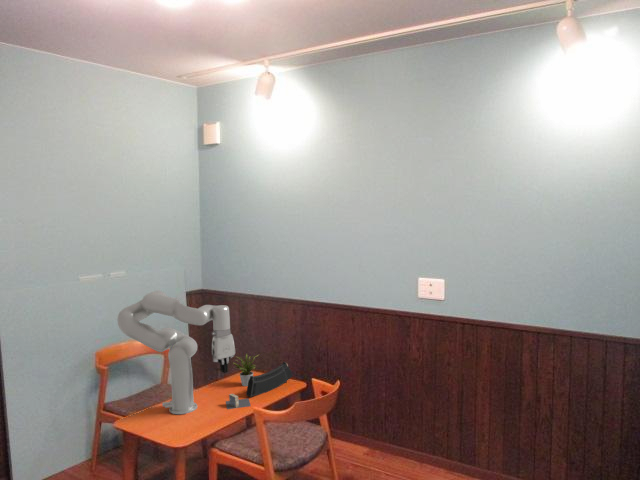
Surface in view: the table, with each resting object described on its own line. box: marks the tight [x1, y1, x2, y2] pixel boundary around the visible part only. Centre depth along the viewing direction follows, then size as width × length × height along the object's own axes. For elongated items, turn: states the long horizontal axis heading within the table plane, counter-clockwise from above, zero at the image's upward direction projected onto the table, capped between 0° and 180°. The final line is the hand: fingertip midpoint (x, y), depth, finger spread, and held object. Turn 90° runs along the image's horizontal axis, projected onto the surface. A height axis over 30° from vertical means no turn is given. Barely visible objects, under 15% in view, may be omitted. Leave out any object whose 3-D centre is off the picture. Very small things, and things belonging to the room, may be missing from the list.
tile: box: [228, 393, 239, 407], centre depth 230 cm, size 2×5×5 cm, turn 45°
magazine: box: [245, 361, 293, 398], centre depth 250 cm, size 17×3×30 cm
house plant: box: [232, 353, 259, 387], centre depth 259 cm, size 14×14×16 cm
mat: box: [225, 397, 252, 410], centre depth 233 cm, size 11×10×1 cm
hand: (224, 371), depth 226 cm, fingers closed
